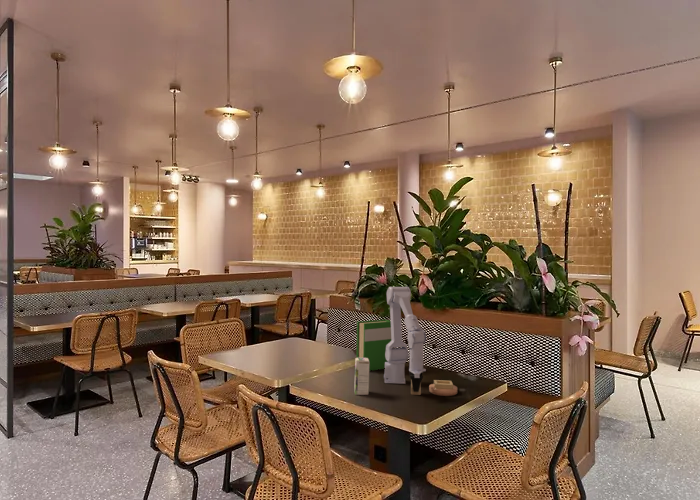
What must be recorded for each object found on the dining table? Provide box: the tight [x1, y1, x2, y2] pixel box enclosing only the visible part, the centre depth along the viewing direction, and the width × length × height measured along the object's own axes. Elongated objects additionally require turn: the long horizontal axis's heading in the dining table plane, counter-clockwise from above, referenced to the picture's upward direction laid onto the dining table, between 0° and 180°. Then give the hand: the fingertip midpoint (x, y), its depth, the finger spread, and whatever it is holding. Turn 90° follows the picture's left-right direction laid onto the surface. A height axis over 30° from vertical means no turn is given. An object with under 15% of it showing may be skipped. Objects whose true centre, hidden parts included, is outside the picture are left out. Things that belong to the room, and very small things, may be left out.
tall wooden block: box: [410, 379, 422, 396], centre depth 202 cm, size 4×2×6 cm, turn 85°
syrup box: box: [353, 357, 370, 396], centre depth 202 cm, size 6×6×14 cm
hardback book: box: [356, 319, 391, 372], centre depth 246 cm, size 18×7×24 cm, turn 120°
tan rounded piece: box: [428, 379, 458, 397], centre depth 206 cm, size 12×12×4 cm
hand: (415, 390), depth 202 cm, fingers closed on tall wooden block, 2 cm apart
